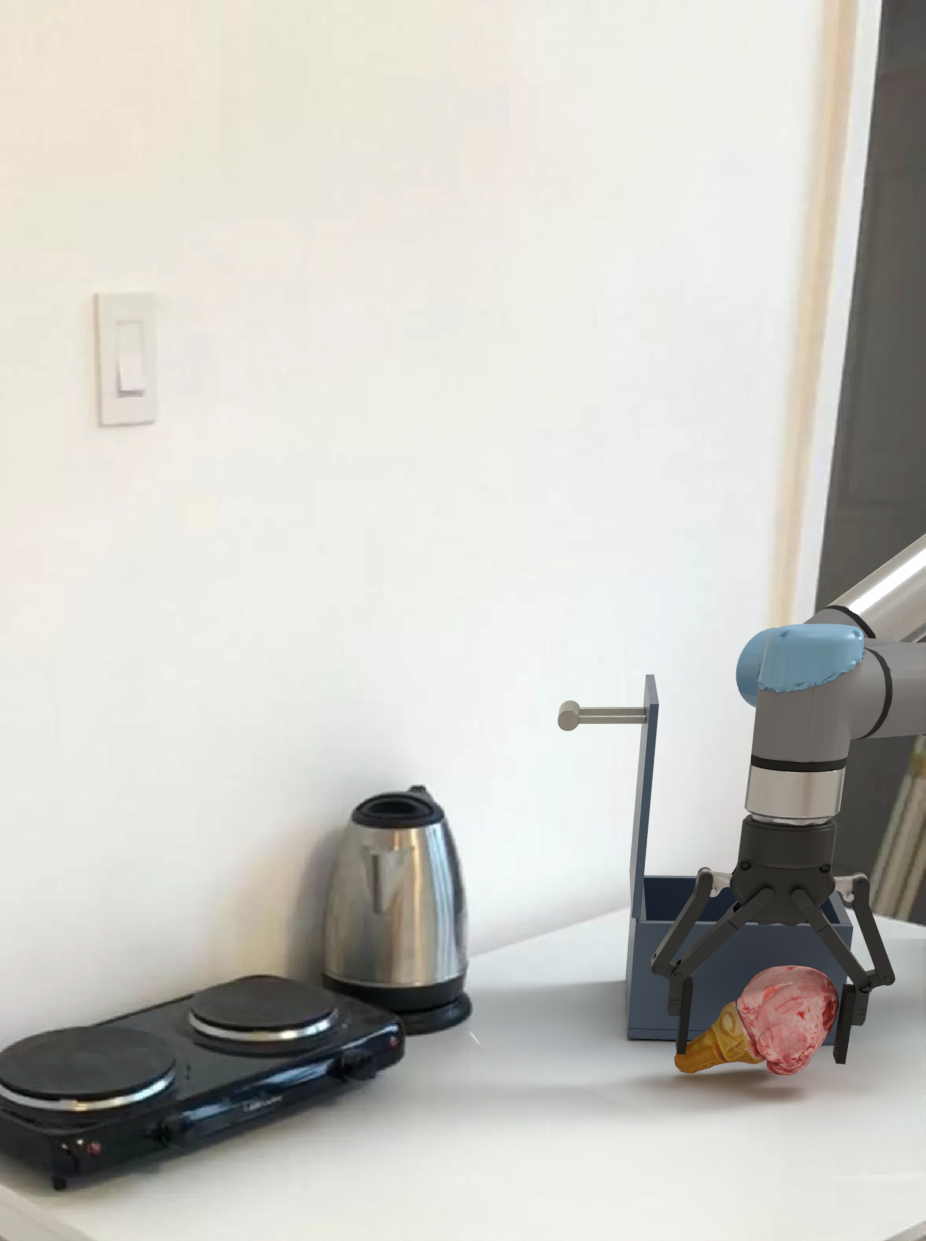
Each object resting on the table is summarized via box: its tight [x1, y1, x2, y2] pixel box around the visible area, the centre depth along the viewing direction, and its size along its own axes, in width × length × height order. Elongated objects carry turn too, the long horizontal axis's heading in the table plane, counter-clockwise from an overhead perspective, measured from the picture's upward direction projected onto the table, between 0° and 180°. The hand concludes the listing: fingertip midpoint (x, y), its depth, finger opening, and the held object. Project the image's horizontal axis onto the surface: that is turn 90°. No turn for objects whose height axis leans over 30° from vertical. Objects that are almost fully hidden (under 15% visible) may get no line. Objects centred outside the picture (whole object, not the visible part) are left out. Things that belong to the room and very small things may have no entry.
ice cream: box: [673, 965, 839, 1076], centre depth 159 cm, size 11×10×15 cm
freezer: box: [624, 874, 854, 1046], centre depth 176 cm, size 19×19×12 cm
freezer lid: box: [557, 673, 660, 918], centre depth 173 cm, size 20×19×9 cm
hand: (758, 1054), depth 159 cm, fingers closed on ice cream, 13 cm apart
